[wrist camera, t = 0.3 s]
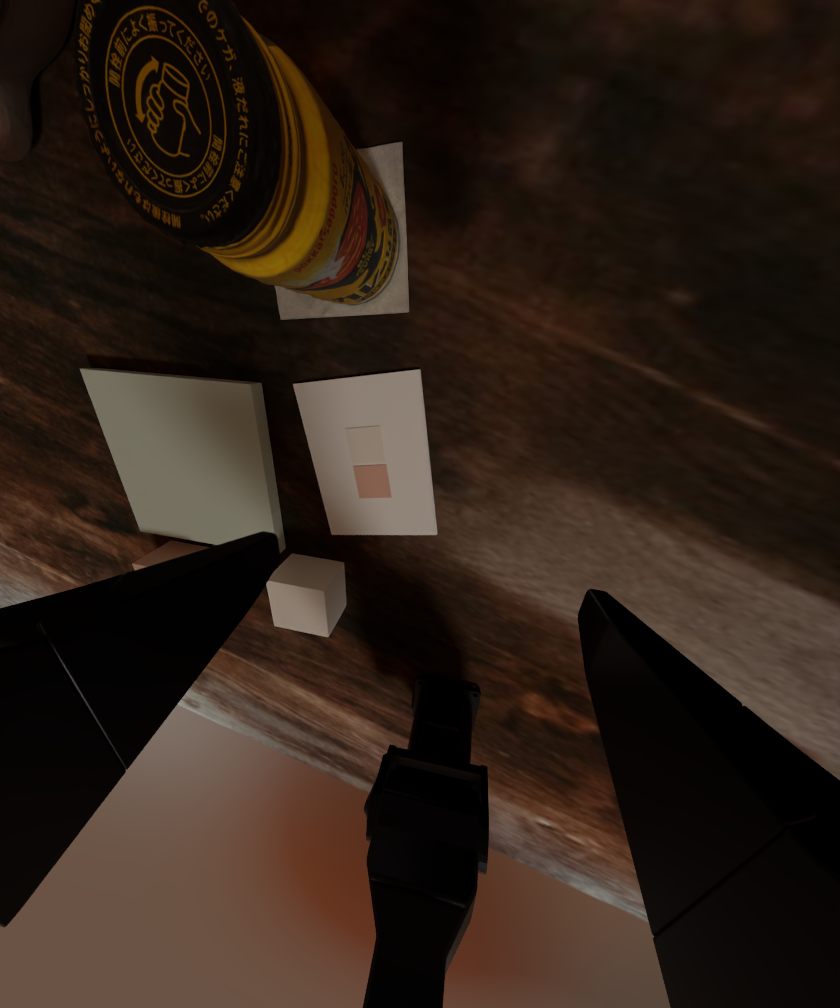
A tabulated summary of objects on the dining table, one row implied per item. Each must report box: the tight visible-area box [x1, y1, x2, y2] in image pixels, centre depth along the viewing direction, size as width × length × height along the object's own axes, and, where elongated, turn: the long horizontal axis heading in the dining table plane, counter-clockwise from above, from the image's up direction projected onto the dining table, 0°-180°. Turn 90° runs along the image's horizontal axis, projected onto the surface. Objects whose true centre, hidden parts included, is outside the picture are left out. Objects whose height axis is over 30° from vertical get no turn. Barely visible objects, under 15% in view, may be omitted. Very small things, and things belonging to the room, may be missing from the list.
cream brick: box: [266, 553, 346, 637], centre depth 28 cm, size 5×5×4 cm
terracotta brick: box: [132, 541, 209, 570], centre depth 31 cm, size 5×5×4 cm
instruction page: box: [293, 369, 437, 535], centre depth 24 cm, size 12×9×1 cm
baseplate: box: [80, 368, 286, 553], centre depth 26 cm, size 14×14×1 cm
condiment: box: [73, 0, 409, 320], centre depth 13 cm, size 7×8×12 cm
